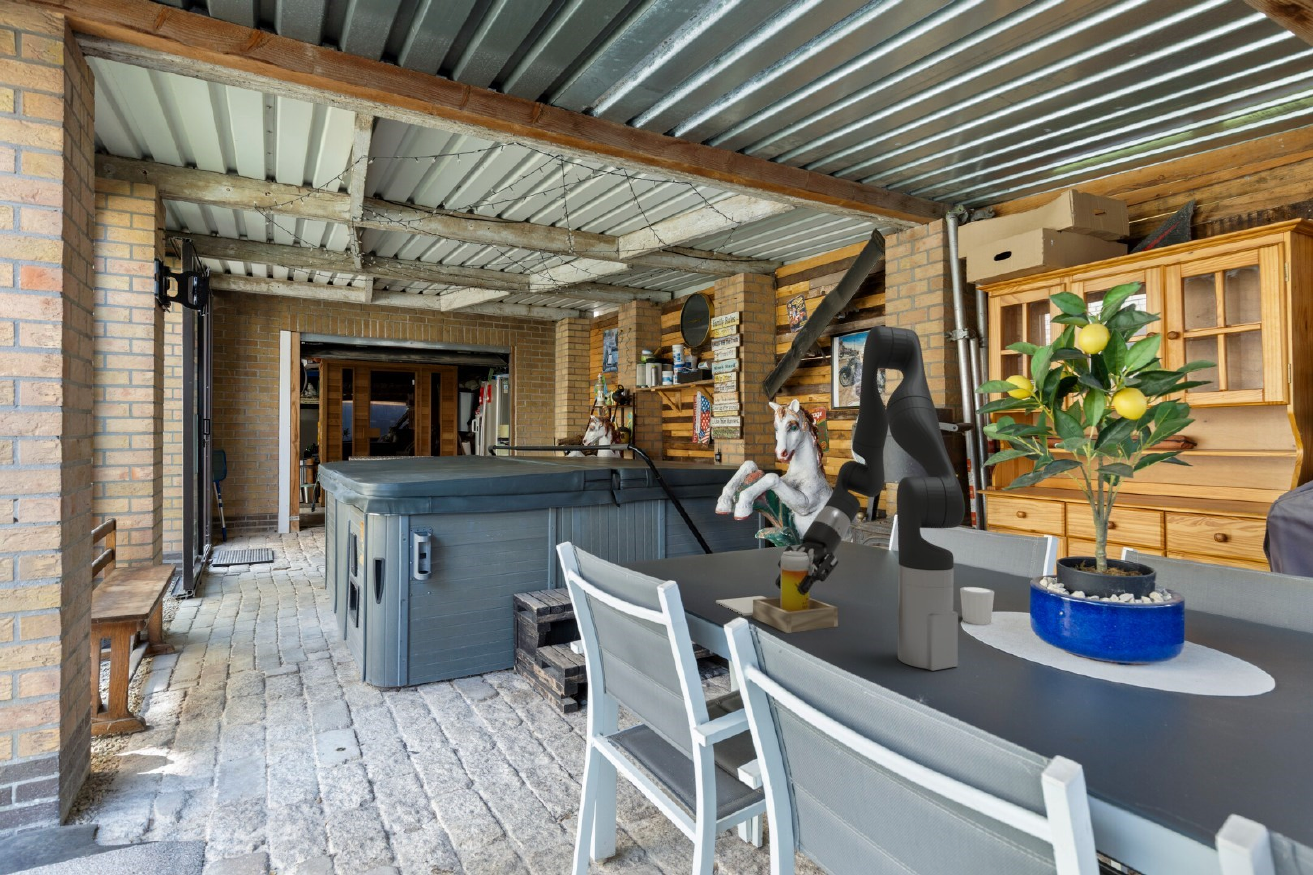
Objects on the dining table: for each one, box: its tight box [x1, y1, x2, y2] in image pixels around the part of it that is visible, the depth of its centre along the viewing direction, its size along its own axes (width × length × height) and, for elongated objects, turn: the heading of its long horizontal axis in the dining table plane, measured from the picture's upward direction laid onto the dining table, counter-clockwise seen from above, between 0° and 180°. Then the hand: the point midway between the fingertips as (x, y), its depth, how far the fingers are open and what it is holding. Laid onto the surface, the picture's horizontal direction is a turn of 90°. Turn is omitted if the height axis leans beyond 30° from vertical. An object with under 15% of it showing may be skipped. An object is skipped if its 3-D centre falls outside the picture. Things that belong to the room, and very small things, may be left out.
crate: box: [752, 596, 839, 634], centre depth 147 cm, size 13×13×4 cm
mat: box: [715, 595, 767, 617], centre depth 161 cm, size 13×13×1 cm
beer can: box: [780, 551, 810, 612], centre depth 147 cm, size 6×6×15 cm
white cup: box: [959, 586, 995, 626], centre depth 150 cm, size 7×7×7 cm
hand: (789, 589), depth 146 cm, fingers closed on beer can, 6 cm apart
